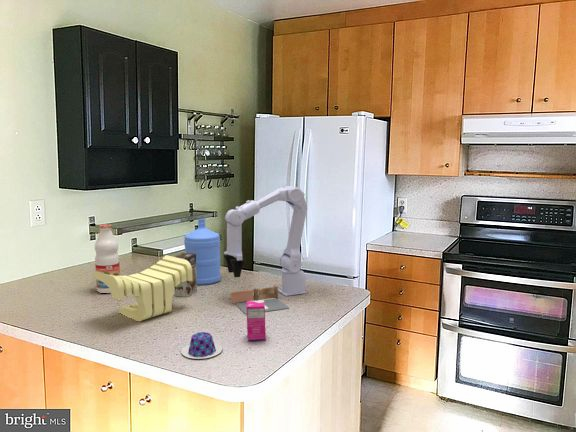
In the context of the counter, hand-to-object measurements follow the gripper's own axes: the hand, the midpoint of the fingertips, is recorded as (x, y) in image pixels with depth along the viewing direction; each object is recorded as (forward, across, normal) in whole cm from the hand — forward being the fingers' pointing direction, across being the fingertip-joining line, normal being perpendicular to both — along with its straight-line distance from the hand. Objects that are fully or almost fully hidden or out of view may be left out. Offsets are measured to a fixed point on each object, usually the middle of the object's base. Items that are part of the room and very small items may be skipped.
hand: (234, 274), depth 187 cm
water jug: (+10, -32, -5) cm, 34 cm away
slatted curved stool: (+11, +2, -34) cm, 36 cm away
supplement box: (+10, +40, -5) cm, 41 cm away
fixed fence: (+10, +5, +11) cm, 16 cm away
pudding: (+11, +42, -23) cm, 50 cm away
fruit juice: (+11, -32, -45) cm, 56 cm away
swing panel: (+9, +5, +2) cm, 11 cm away
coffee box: (+11, -16, -16) cm, 25 cm away
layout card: (+10, +9, +7) cm, 15 cm away
